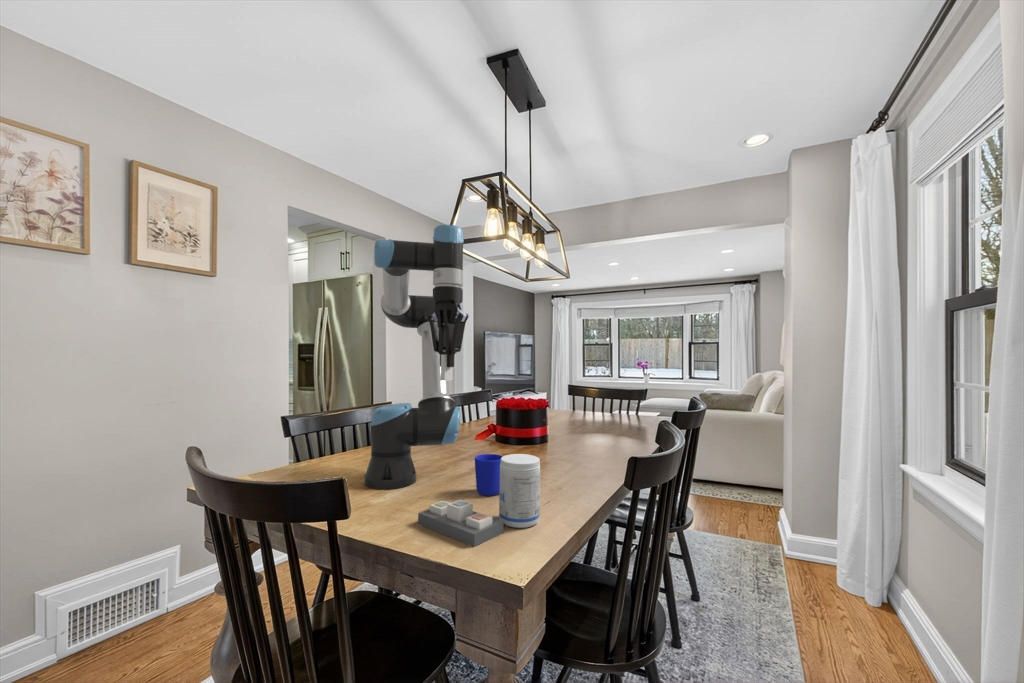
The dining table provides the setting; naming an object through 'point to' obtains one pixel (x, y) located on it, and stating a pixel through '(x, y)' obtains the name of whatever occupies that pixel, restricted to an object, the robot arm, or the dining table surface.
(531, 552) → the dining table surface
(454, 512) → the key
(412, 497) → the dining table surface
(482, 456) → the mug
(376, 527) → the dining table surface
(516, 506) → the supplement tub
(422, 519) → the keypad base
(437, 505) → the key
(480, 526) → the key
